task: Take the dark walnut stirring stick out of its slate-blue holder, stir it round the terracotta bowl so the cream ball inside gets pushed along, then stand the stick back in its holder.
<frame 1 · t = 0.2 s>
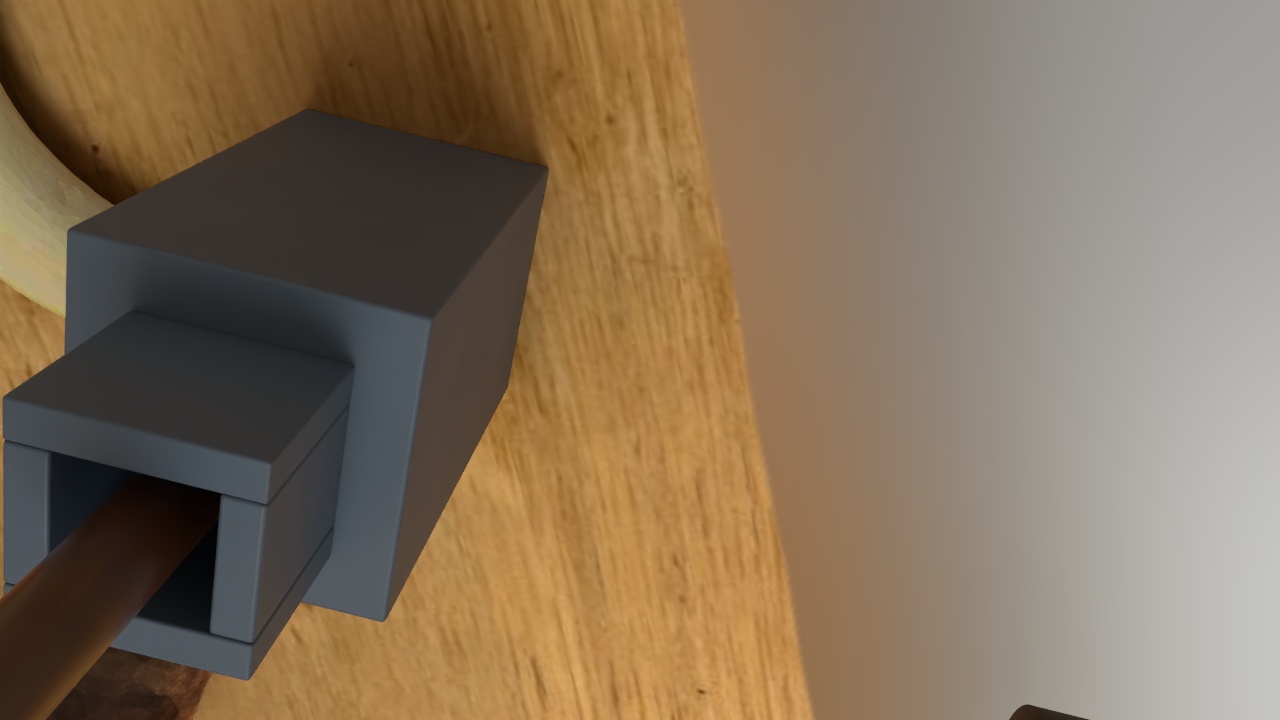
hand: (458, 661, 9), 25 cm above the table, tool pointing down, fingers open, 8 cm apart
fruit: (83, 104, 33), on the table
decorative rock: (151, 678, 41), on the table
holder: (410, 254, 34), on the table
stick: (234, 437, 23), point 12 cm above the table, touching holder
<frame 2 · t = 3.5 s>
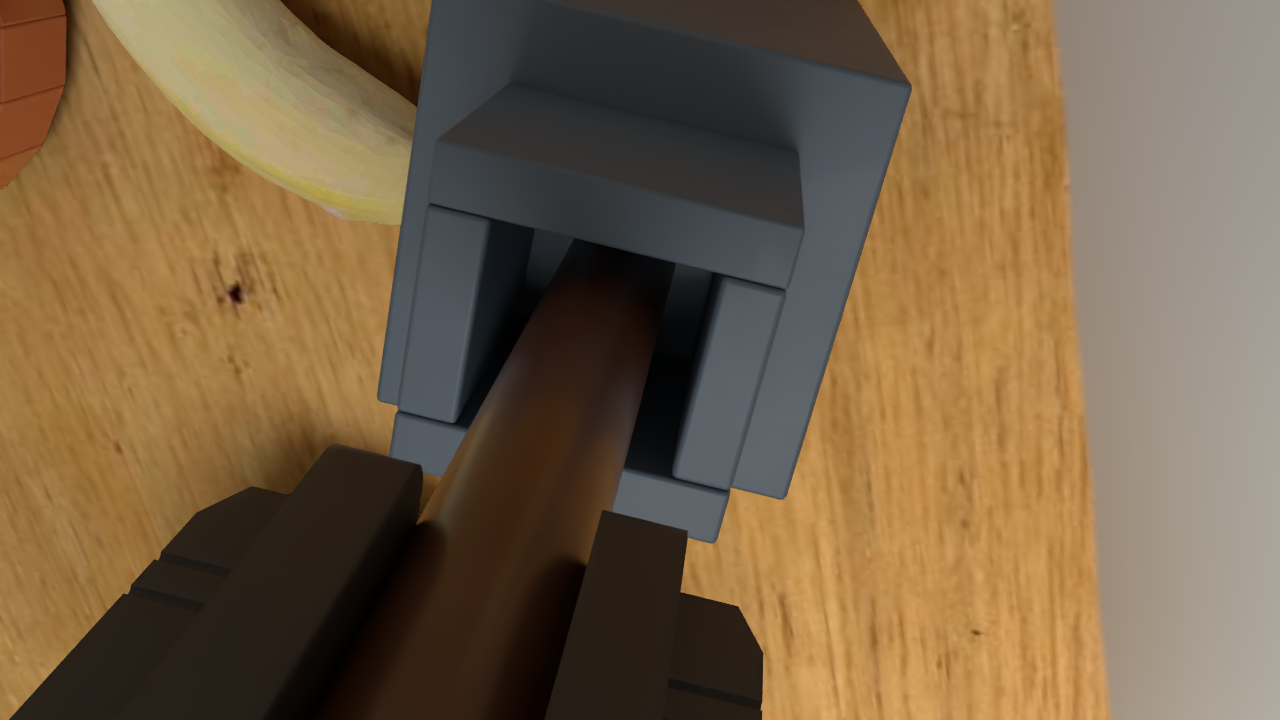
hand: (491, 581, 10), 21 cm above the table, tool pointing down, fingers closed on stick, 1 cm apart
holder: (681, 110, 29), on the table
stick: (624, 255, 18), point 12 cm above the table, touching gripper, holder
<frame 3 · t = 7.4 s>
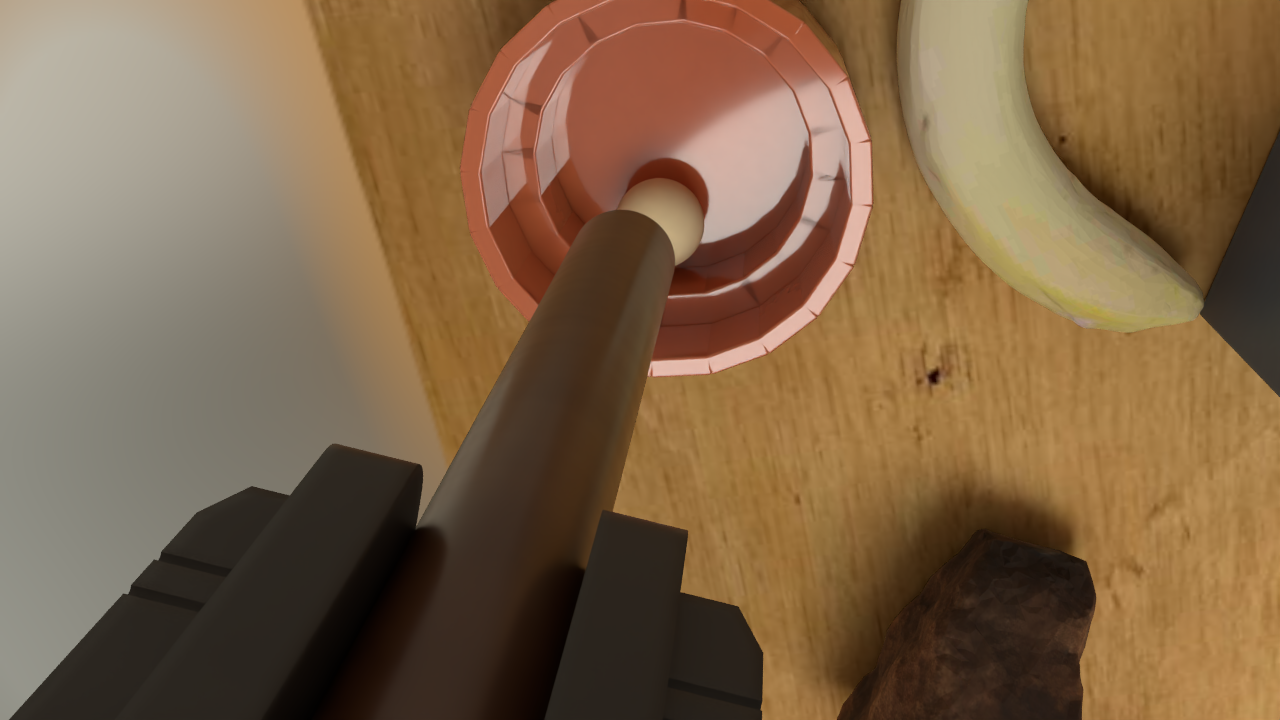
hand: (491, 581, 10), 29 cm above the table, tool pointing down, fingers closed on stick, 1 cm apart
ball: (659, 223, 36), point 2 cm above the table, touching bowl
bowl: (680, 141, 37), on the table
fruit: (1055, 101, 36), on the table
decorative rock: (948, 643, 44), on the table
stick: (623, 258, 18), point 20 cm above the table, touching gripper
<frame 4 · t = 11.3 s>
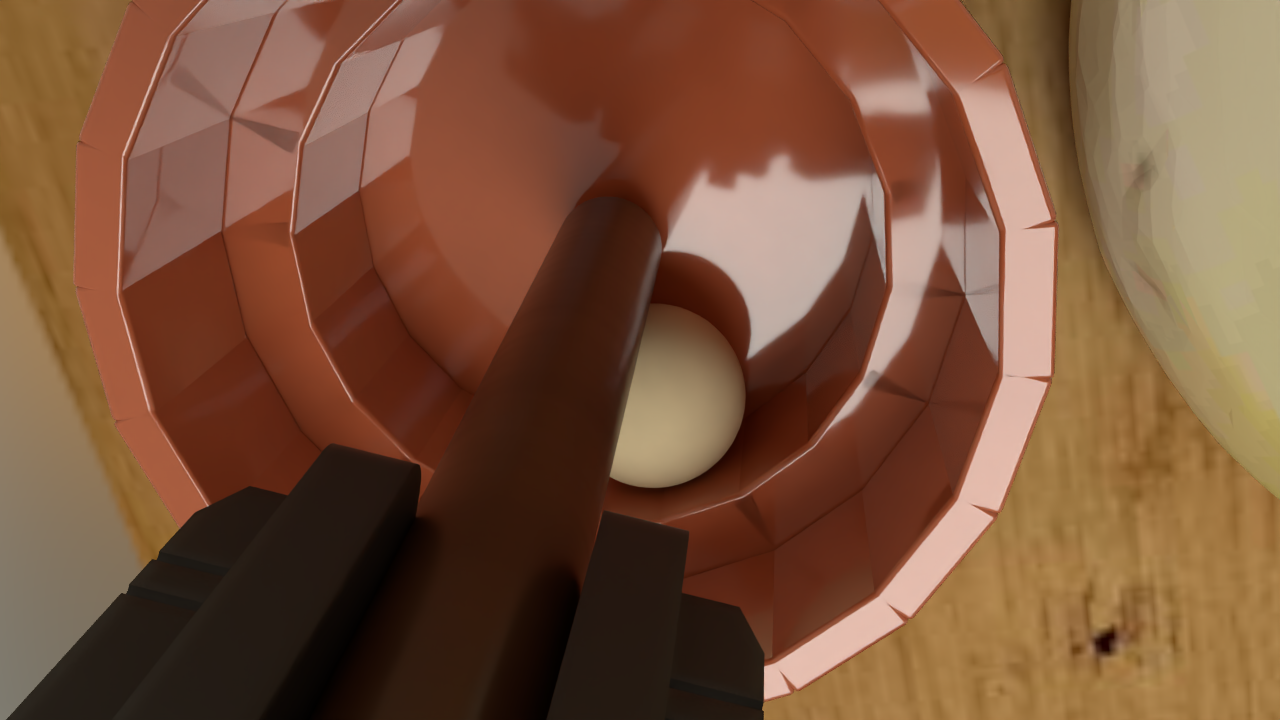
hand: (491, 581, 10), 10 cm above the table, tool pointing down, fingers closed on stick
ball: (653, 395, 18), point 2 cm above the table, tilted 20°, touching bowl, stick
bowl: (616, 201, 19), on the table
stick: (610, 245, 18), point 1 cm above the table, touching ball, gripper
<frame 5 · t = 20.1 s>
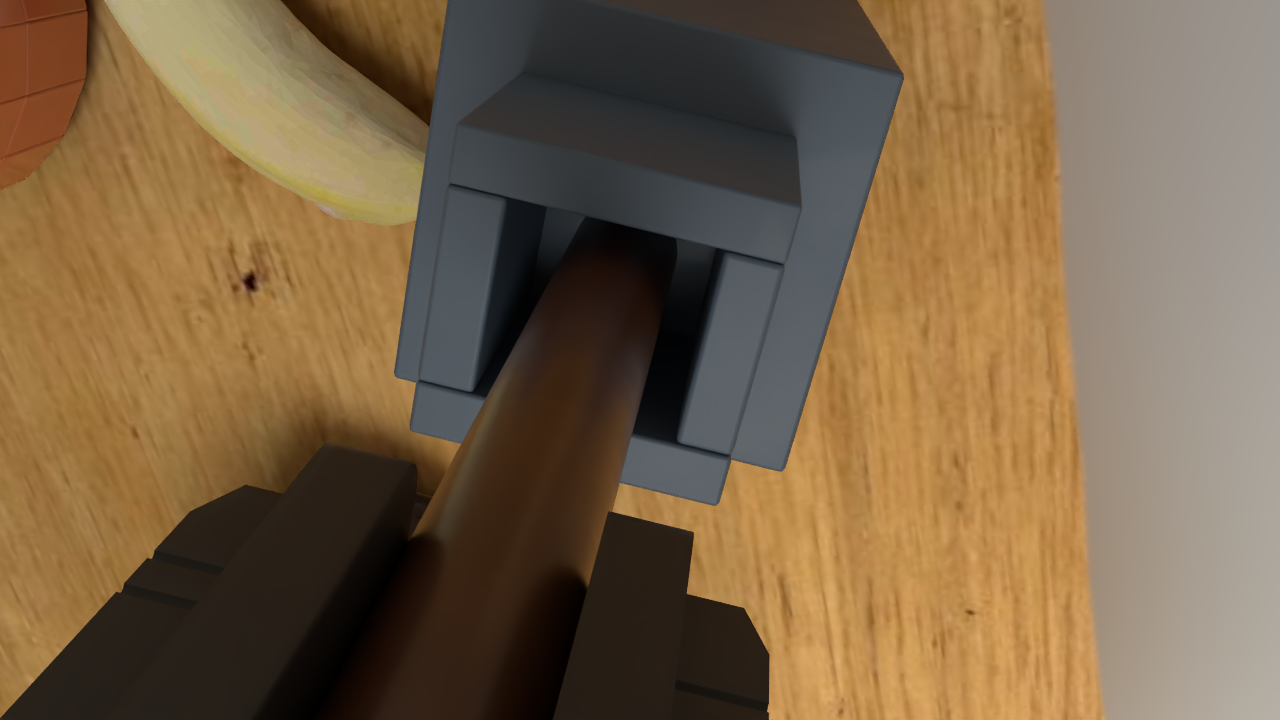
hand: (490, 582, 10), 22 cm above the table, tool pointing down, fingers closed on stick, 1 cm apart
decorative rock: (343, 603, 37), on the table
holder: (683, 103, 30), on the table
stick: (625, 249, 18), point 13 cm above the table, touching gripper
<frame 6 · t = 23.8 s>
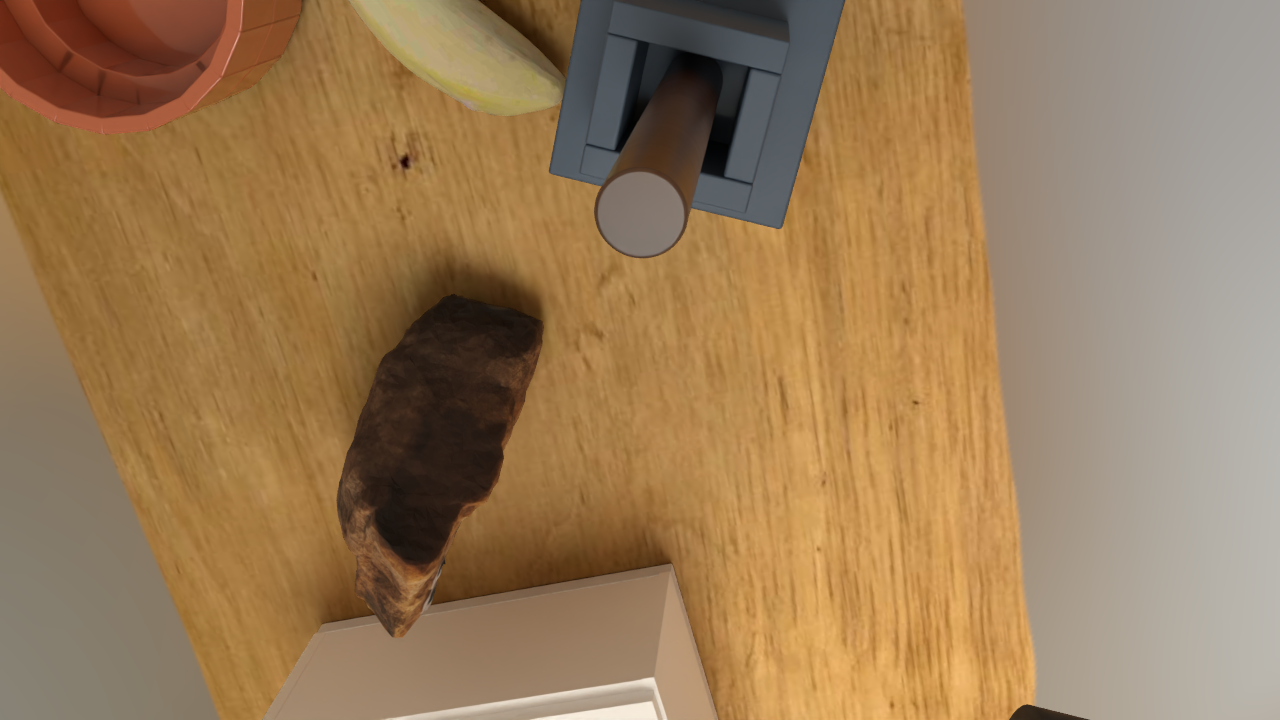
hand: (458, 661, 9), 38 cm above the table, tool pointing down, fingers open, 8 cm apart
decorative rock: (460, 406, 51), on the table
holder: (713, 30, 44), on the table
stick: (694, 80, 33), point 12 cm above the table, touching holder
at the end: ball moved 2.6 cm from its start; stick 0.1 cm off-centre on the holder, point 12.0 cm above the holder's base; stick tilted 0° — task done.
